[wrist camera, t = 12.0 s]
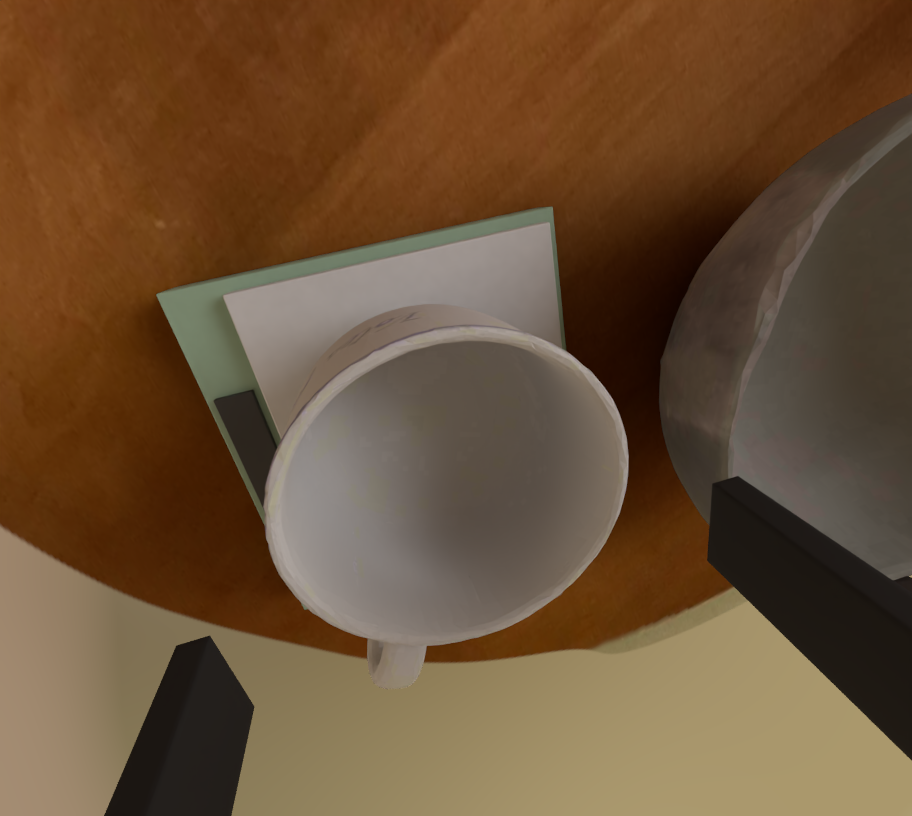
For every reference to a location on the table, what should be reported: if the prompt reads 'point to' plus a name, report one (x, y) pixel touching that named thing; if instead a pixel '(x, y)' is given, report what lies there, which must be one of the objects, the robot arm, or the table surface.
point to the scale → (349, 315)
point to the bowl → (808, 346)
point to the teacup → (441, 481)
